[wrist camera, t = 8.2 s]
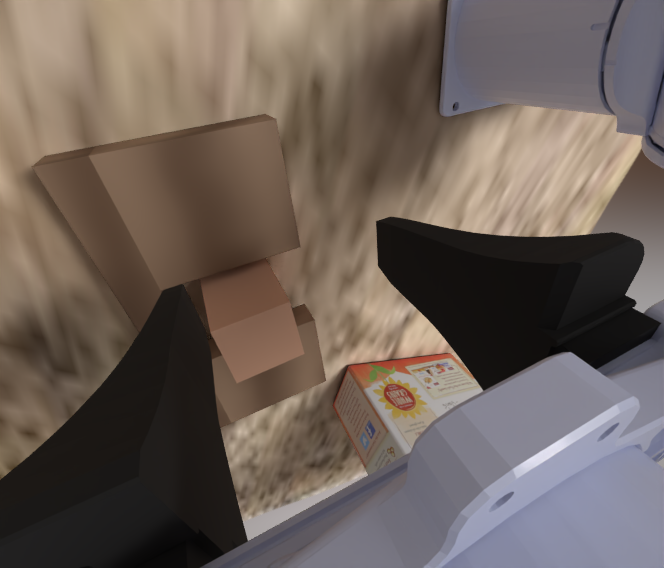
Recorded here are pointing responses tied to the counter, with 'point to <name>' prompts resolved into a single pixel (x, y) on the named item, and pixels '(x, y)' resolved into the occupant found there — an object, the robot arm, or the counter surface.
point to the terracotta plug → (250, 319)
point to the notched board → (188, 229)
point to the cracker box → (398, 403)
